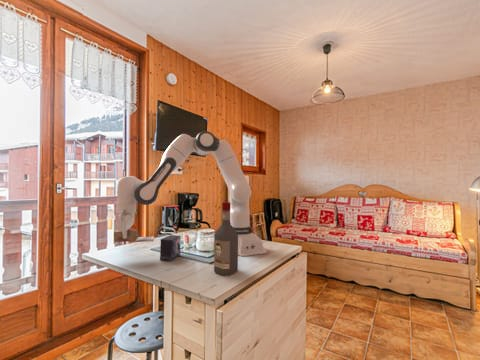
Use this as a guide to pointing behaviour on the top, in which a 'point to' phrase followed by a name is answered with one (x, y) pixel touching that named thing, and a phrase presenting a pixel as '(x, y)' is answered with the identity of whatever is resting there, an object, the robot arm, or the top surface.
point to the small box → (170, 247)
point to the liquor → (225, 245)
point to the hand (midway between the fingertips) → (126, 237)
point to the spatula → (130, 237)
